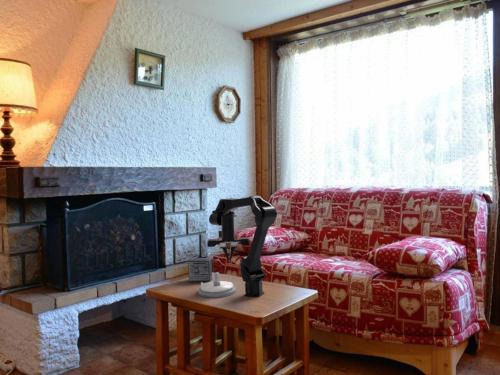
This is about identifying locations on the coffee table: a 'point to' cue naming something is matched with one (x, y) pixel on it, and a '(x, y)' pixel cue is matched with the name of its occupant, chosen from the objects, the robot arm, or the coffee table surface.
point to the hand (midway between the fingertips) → (229, 261)
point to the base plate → (215, 295)
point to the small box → (200, 270)
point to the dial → (216, 285)
